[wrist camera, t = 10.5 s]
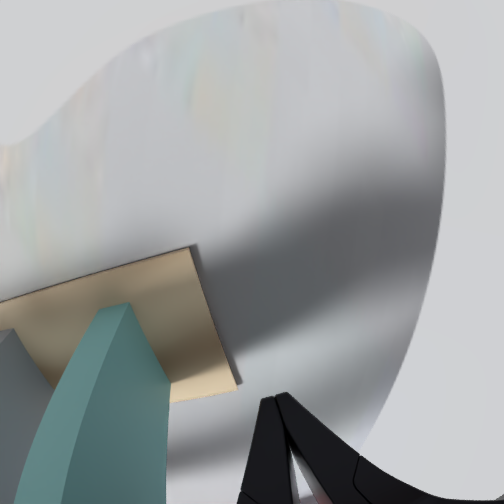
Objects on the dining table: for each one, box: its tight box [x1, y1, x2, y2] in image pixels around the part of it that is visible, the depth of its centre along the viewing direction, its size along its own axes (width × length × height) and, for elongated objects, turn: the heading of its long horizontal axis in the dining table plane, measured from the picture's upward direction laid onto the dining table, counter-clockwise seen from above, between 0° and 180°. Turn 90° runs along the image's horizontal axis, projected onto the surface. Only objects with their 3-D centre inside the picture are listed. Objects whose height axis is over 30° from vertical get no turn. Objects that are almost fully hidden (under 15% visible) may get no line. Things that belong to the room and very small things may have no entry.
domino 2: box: [14, 302, 171, 504], centre depth 7 cm, size 5×2×10 cm, turn 12°
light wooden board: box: [0, 247, 238, 403], centre depth 11 cm, size 8×30×1 cm, turn 102°
